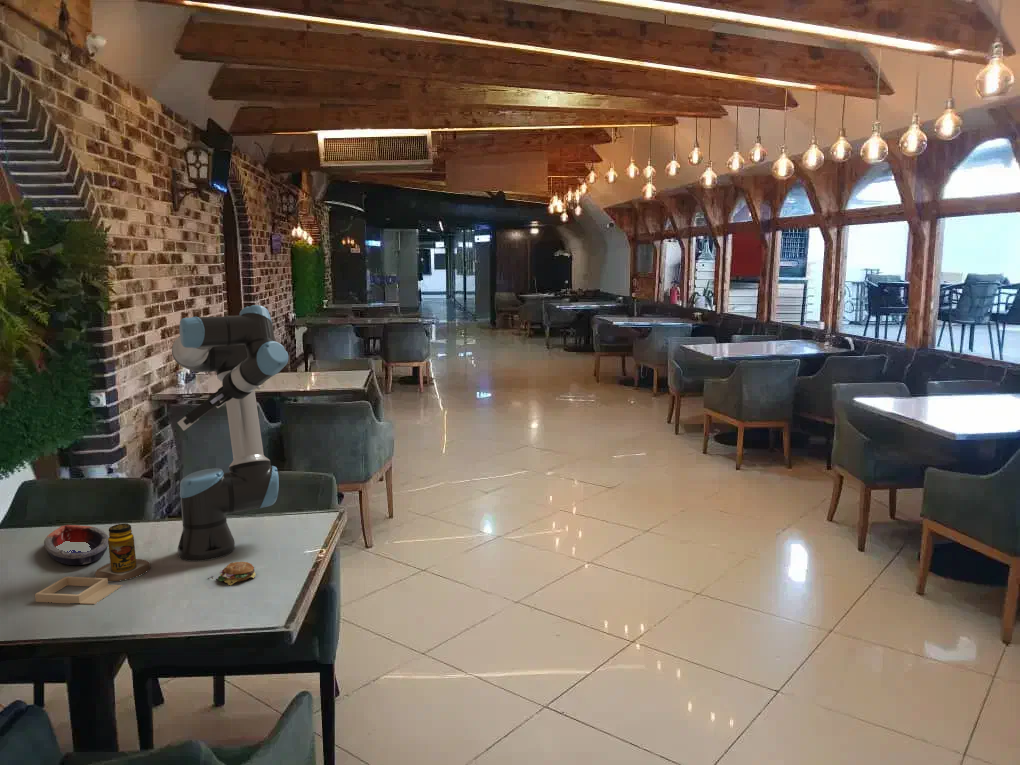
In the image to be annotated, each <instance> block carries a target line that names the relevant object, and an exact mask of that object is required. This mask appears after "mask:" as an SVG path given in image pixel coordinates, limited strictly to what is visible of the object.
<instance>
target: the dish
mask: <svg viewBox="0 0 1020 765" xmlns="http://www.w3.org/2000/svg"><path fill="white" fill-rule="evenodd" d="M109 537H110V536H109V534H107V533H106V532H105V531H104V530H102V529H101V528H98V527H96V526H89V525H77V524H74V525H73V524H66V525H61V526H59V527H58V528H56V529H55V530H53V531H52V532H50V533H49V534H48V535H47V536H46V537H45V538H44V541H43V544H44V549H45V550H46V551H47V553H48V555H49V556H50V557H51V558H52V559H53V560H55V561H57V562H58V563H61V564H63V565H69V566H81V565H88V564H90V563H94V562H96V561H97V560H100V559H101V558H102V557H103V556H104V554H105V553H106V551H107V549H108V548H109V544H108V538H109ZM65 541H70V542H86V543H88V544H89V545H90V546H89V547H90V548H91V550H90V551H87V552H81V551H78V552H76V551H75V550H72V551H73V552H72V551H71V550H70V551H71V553H69V552H70V551H69V552H68V551H67V552H65V551H63V550H59V549H57V548H56V546H58V545H60V544H62V543H63V542H65Z"/></svg>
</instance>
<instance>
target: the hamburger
mask: <svg viewBox="0 0 1020 765" xmlns="http://www.w3.org/2000/svg"><path fill="white" fill-rule="evenodd" d="M219 574H220V575H219V576H218V577H217V578H218V580H217V581H218V582H223V581H224V583H226V584H227V585H228V586H229V585H230V586H232V585H234V584H235V583H241V582H240V581H242V582H244V580H245V581H248V580H249V578H250V579H251V578H253V579H255V578H254V577H256V574H257V573H256V572H255V566H254V565H253V564H252V563H250V562H248V561H235V562H230V563H229V564H227V565H226V566H225V567H224V568H223V569H222V570H220V571H219ZM212 576H213V575H211V576H210V577H212ZM247 579H248V580H247Z"/></svg>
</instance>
